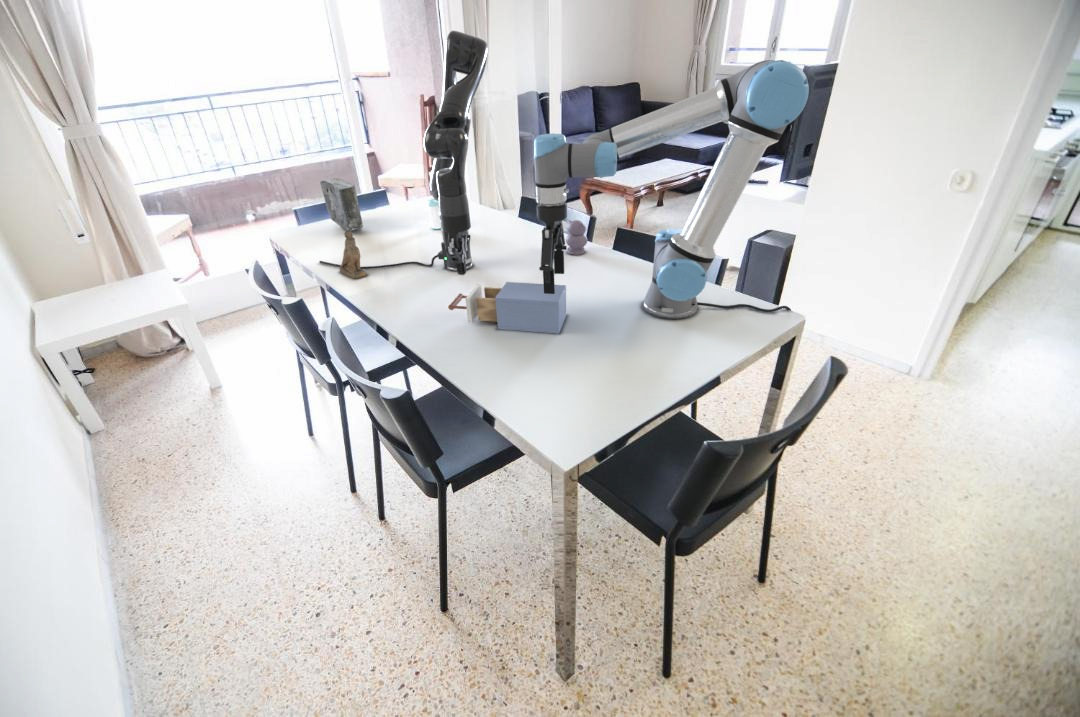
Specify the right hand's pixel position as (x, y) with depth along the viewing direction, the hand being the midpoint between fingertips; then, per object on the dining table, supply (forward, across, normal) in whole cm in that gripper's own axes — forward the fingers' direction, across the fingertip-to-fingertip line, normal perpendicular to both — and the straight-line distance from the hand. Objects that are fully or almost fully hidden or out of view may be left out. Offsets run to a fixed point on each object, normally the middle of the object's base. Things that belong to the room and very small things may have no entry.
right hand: (554, 283), depth 134 cm
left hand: (-2, 0, +26) cm, 26 cm away
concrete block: (+11, +78, +112) cm, 137 cm away
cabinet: (+12, 0, +7) cm, 14 cm away
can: (+11, +83, +70) cm, 109 cm away
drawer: (+11, 0, +19) cm, 22 cm away
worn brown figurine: (+11, +27, +80) cm, 85 cm away
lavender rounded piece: (+12, +59, +4) cm, 61 cm away
